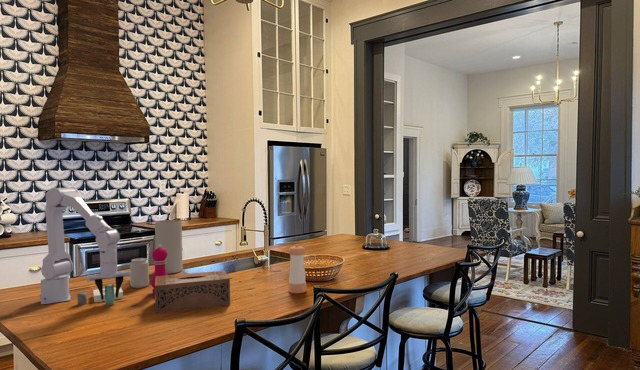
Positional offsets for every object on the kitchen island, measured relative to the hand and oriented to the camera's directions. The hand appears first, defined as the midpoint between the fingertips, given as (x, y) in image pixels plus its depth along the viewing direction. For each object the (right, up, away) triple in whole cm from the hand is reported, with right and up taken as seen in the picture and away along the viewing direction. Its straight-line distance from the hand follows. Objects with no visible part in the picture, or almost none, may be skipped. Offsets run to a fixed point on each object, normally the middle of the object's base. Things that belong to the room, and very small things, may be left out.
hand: (109, 297), depth 160 cm
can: (+1, -2, +25) cm, 25 cm away
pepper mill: (+14, -2, +14) cm, 20 cm away
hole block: (-5, -2, +9) cm, 10 cm away
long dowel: (0, -2, 0) cm, 2 cm away
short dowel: (-10, -2, 0) cm, 11 cm away
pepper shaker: (+70, -1, +15) cm, 72 cm away
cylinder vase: (+4, -1, +53) cm, 53 cm away
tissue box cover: (+31, -2, 0) cm, 32 cm away
